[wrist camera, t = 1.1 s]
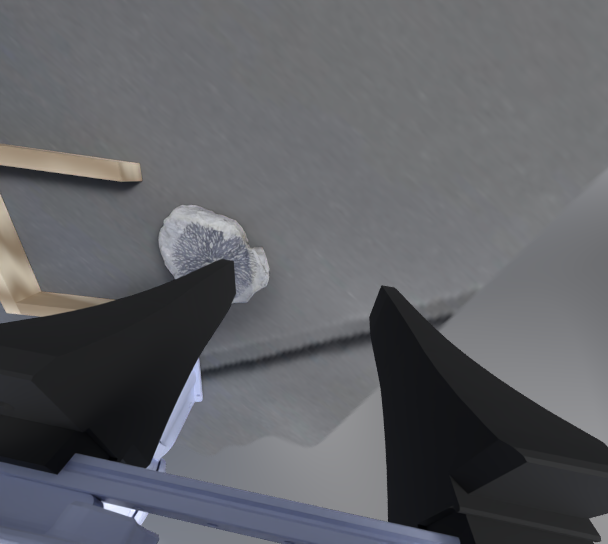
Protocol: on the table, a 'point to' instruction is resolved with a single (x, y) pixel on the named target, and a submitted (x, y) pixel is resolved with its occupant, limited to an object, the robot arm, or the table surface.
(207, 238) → the fossil
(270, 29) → the table surface
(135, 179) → the bay
